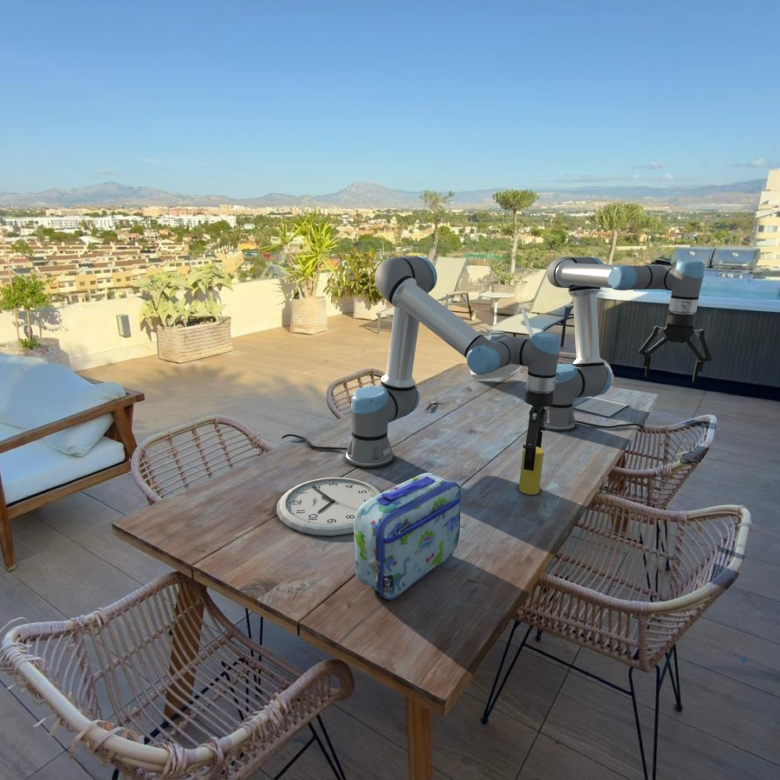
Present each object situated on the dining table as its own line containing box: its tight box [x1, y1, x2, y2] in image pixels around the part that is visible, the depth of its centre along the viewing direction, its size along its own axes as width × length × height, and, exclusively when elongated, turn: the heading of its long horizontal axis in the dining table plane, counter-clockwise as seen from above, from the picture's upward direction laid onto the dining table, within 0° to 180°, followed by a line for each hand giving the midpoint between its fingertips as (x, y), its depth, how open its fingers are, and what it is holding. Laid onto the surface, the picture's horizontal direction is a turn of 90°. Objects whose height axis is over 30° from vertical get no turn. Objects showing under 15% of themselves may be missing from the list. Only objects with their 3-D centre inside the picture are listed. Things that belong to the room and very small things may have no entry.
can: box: [518, 447, 545, 496], centre depth 151 cm, size 6×6×13 cm
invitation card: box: [573, 396, 629, 418], centre depth 226 cm, size 21×1×15 cm
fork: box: [425, 395, 439, 411], centre depth 223 cm, size 3×16×2 cm, turn 160°
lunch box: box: [353, 472, 462, 600], centre depth 112 cm, size 26×11×21 cm, turn 134°
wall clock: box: [276, 476, 383, 537], centre depth 142 cm, size 30×2×30 cm
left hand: (532, 460), depth 150 cm, fingers open, 13 cm apart
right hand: (669, 378), depth 167 cm, fingers open, 13 cm apart
